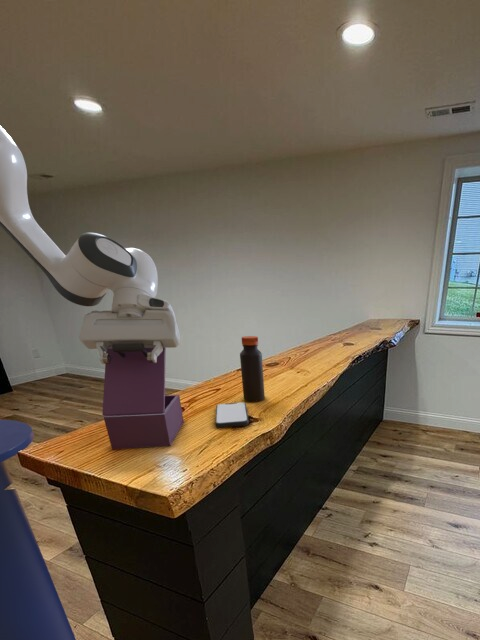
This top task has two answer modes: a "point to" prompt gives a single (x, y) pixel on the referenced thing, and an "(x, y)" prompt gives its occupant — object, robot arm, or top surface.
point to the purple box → (146, 427)
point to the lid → (133, 381)
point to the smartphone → (231, 415)
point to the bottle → (252, 370)
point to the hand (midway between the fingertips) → (128, 361)
